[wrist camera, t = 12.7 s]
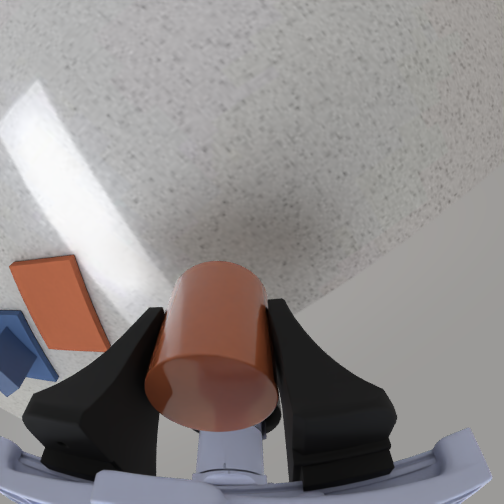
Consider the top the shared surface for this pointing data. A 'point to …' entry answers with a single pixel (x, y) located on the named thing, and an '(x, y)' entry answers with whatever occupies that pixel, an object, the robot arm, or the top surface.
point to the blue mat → (28, 344)
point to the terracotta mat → (60, 303)
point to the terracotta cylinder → (214, 351)
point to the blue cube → (13, 362)
